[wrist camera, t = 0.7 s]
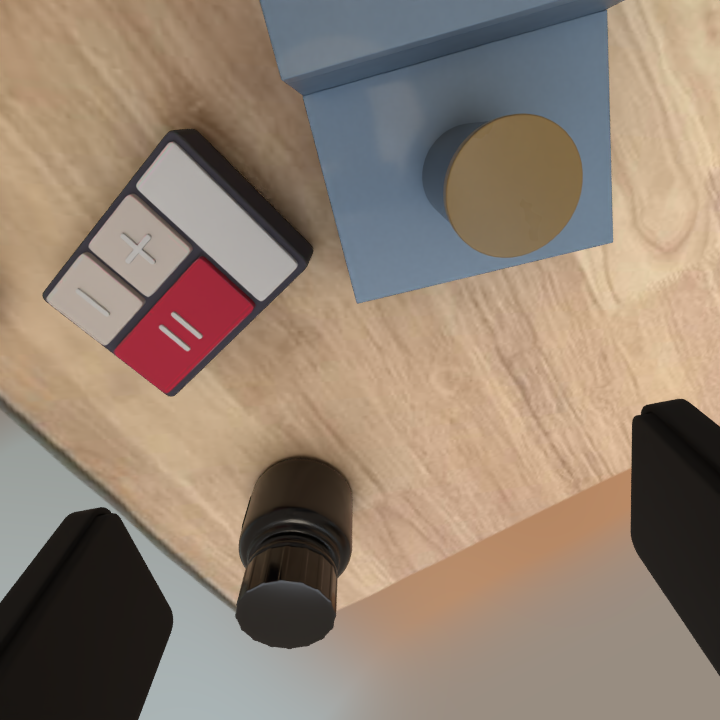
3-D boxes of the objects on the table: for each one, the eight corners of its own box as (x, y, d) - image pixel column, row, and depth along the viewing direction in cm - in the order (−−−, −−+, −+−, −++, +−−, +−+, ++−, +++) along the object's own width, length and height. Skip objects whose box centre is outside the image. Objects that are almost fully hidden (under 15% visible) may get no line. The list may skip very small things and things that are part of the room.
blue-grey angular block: (258, -101, 26) (178, -293, 14) (555, -199, 25) (737, -501, 13) (356, 282, 35) (357, 356, 24) (578, 228, 34) (698, 278, 22)
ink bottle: (230, 500, 44) (189, 621, 33) (286, 435, 41) (261, 545, 30) (317, 549, 46) (305, 676, 35) (376, 491, 43) (382, 611, 33)
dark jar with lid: (410, 134, 27) (434, 135, 19) (510, 107, 26) (580, 95, 18) (428, 233, 29) (457, 271, 21) (521, 210, 28) (586, 240, 20)
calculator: (31, 301, 32) (166, 126, 27) (68, 280, 36) (192, 125, 31) (167, 405, 35) (309, 267, 30) (187, 376, 39) (316, 250, 34)
